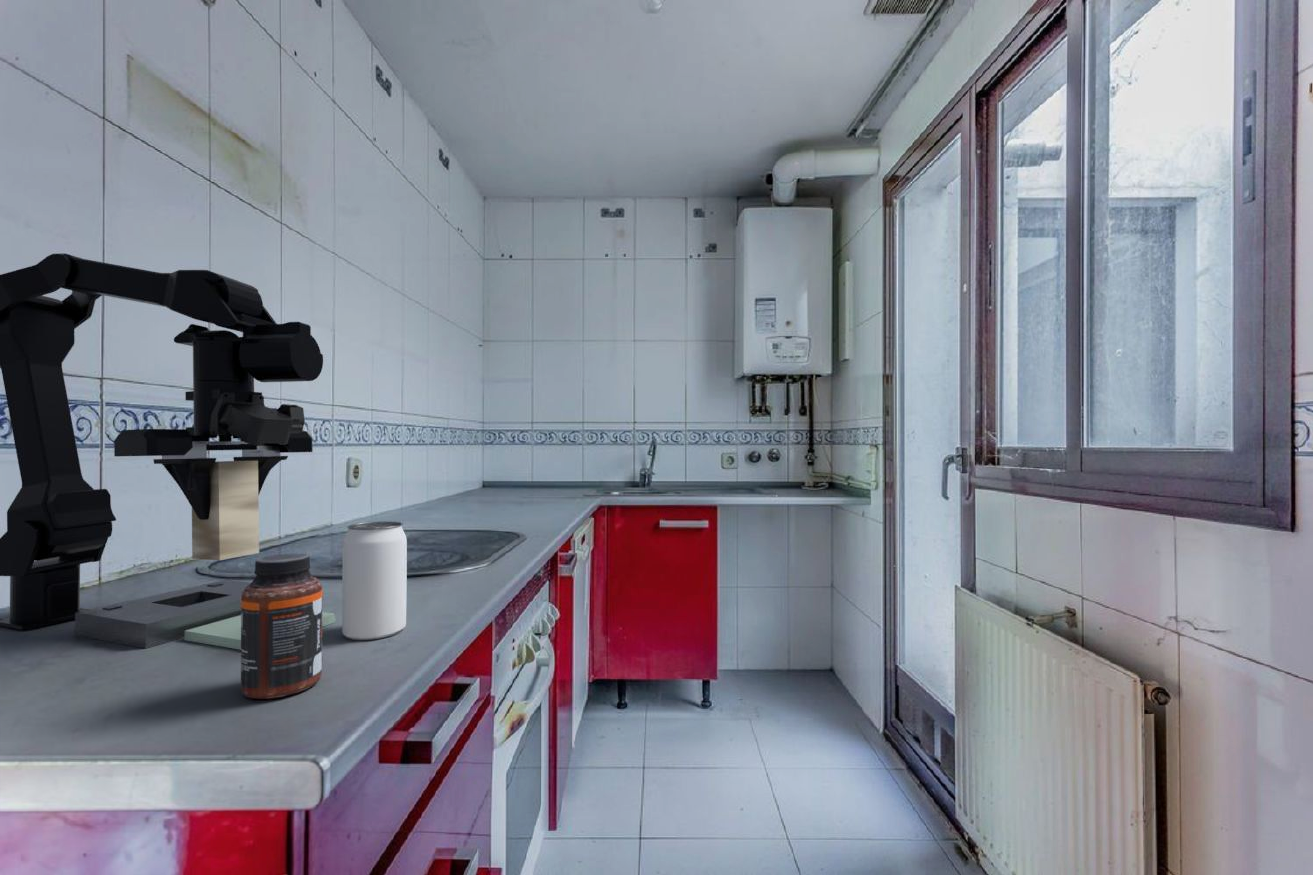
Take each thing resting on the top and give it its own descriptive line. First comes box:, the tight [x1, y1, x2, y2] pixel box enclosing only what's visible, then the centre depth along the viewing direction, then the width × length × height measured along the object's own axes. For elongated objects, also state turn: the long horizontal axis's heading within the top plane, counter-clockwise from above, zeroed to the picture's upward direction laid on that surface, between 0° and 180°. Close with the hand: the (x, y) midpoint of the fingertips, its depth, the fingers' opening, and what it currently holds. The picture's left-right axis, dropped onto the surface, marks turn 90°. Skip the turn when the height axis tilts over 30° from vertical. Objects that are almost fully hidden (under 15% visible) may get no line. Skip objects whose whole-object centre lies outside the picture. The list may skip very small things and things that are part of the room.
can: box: [341, 520, 408, 642], centre depth 64 cm, size 6×6×12 cm
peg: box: [191, 460, 260, 561], centre depth 67 cm, size 4×4×11 cm
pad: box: [184, 611, 336, 651], centre depth 65 cm, size 10×10×1 cm
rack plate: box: [74, 579, 252, 649], centre depth 69 cm, size 12×16×3 cm
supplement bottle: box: [240, 552, 323, 700], centre depth 50 cm, size 6×6×11 cm
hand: (226, 516), depth 67 cm, fingers closed on peg, 4 cm apart
